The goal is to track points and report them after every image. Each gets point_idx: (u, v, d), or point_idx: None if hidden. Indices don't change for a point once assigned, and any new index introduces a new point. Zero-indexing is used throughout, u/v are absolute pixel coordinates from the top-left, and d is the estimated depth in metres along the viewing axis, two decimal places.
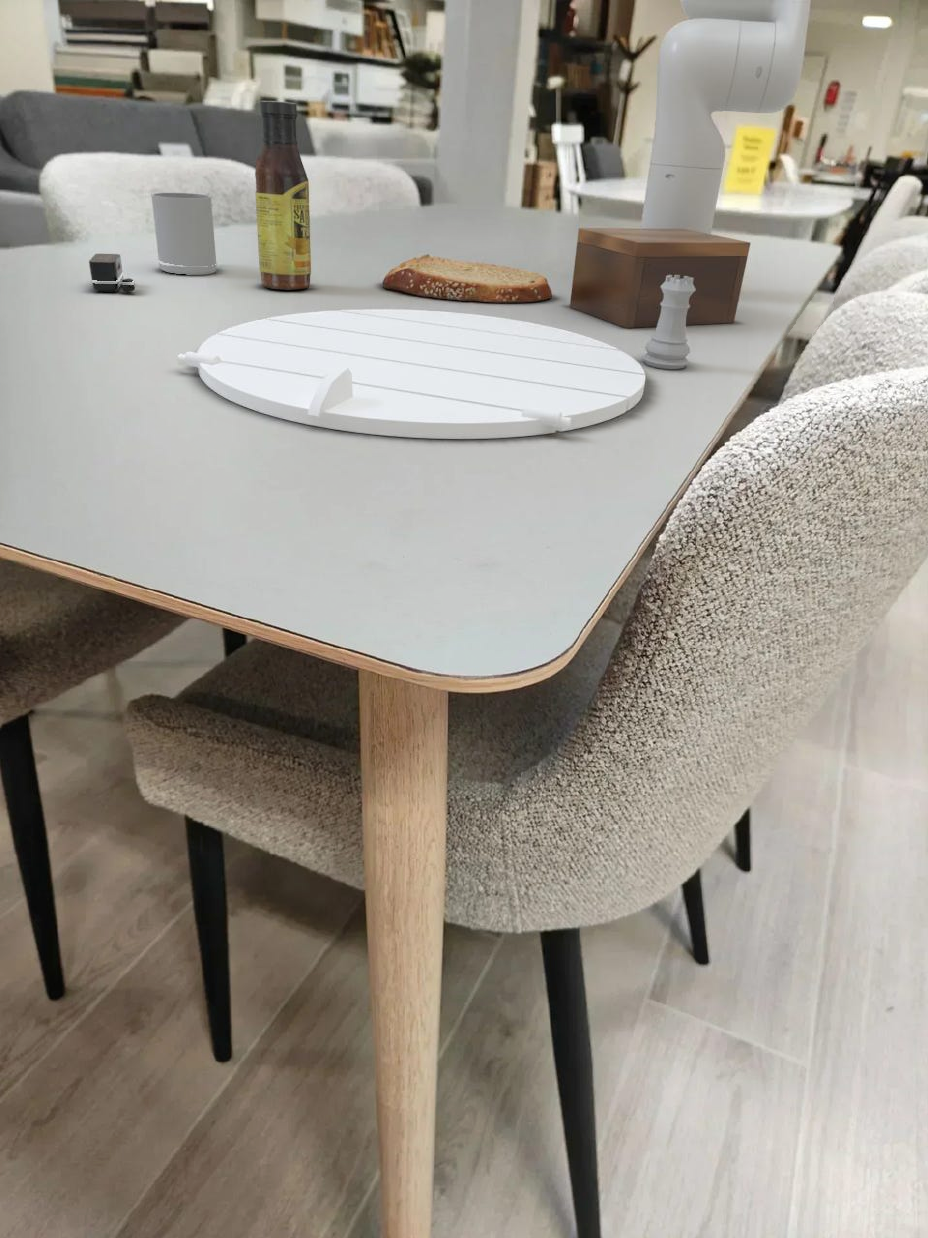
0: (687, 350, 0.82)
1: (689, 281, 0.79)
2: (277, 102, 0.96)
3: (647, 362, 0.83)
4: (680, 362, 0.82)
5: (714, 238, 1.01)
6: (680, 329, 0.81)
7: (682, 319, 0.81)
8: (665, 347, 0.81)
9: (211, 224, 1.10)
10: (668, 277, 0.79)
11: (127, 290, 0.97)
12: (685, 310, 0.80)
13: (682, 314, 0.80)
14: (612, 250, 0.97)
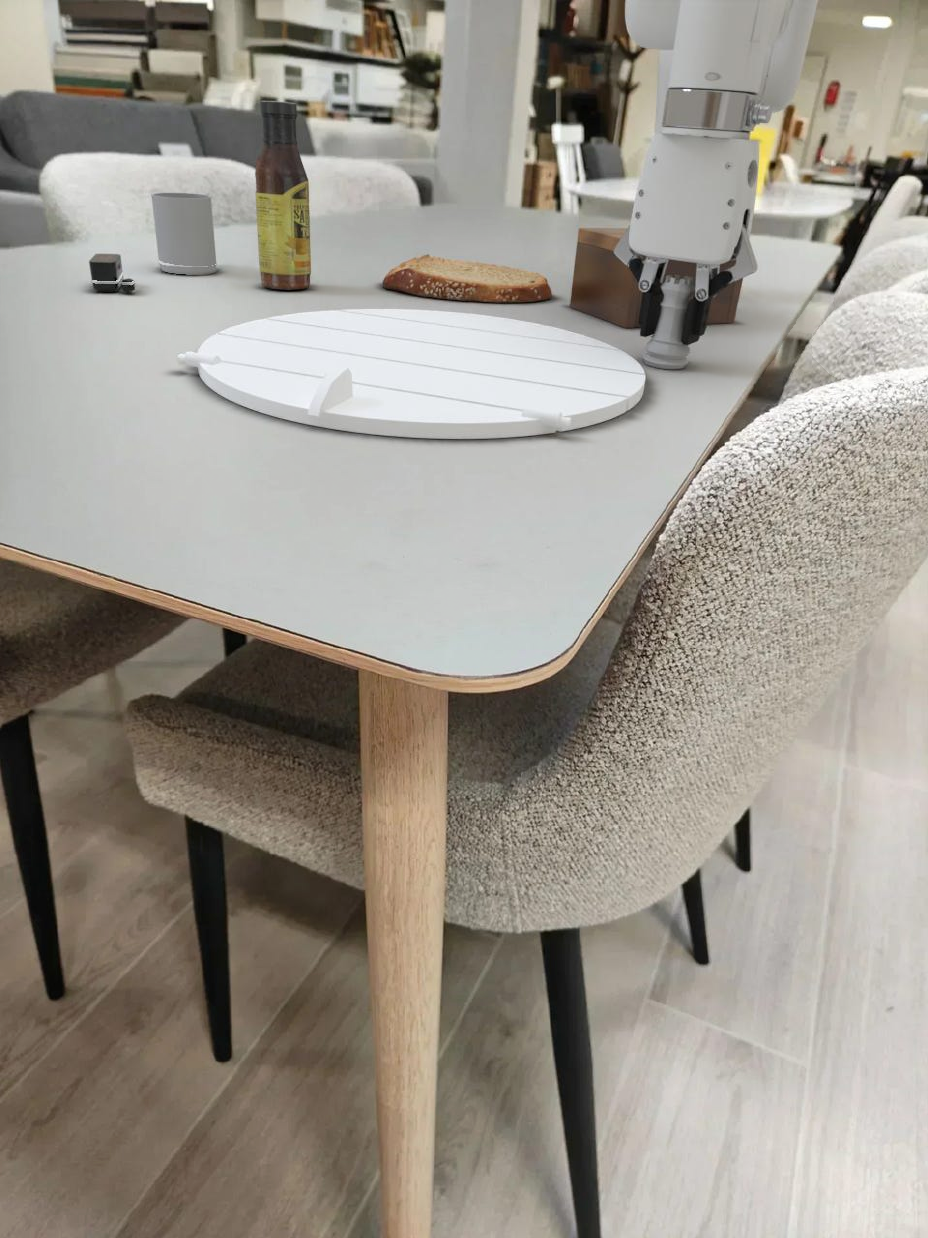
0: (687, 350, 0.82)
1: (689, 281, 0.79)
2: (277, 102, 0.96)
3: (647, 362, 0.83)
4: (680, 362, 0.82)
5: None
6: (680, 329, 0.81)
7: (682, 319, 0.81)
8: (665, 347, 0.81)
9: (211, 224, 1.10)
10: (668, 277, 0.79)
11: (127, 290, 0.97)
12: (685, 310, 0.80)
13: (682, 314, 0.80)
14: (612, 250, 0.97)
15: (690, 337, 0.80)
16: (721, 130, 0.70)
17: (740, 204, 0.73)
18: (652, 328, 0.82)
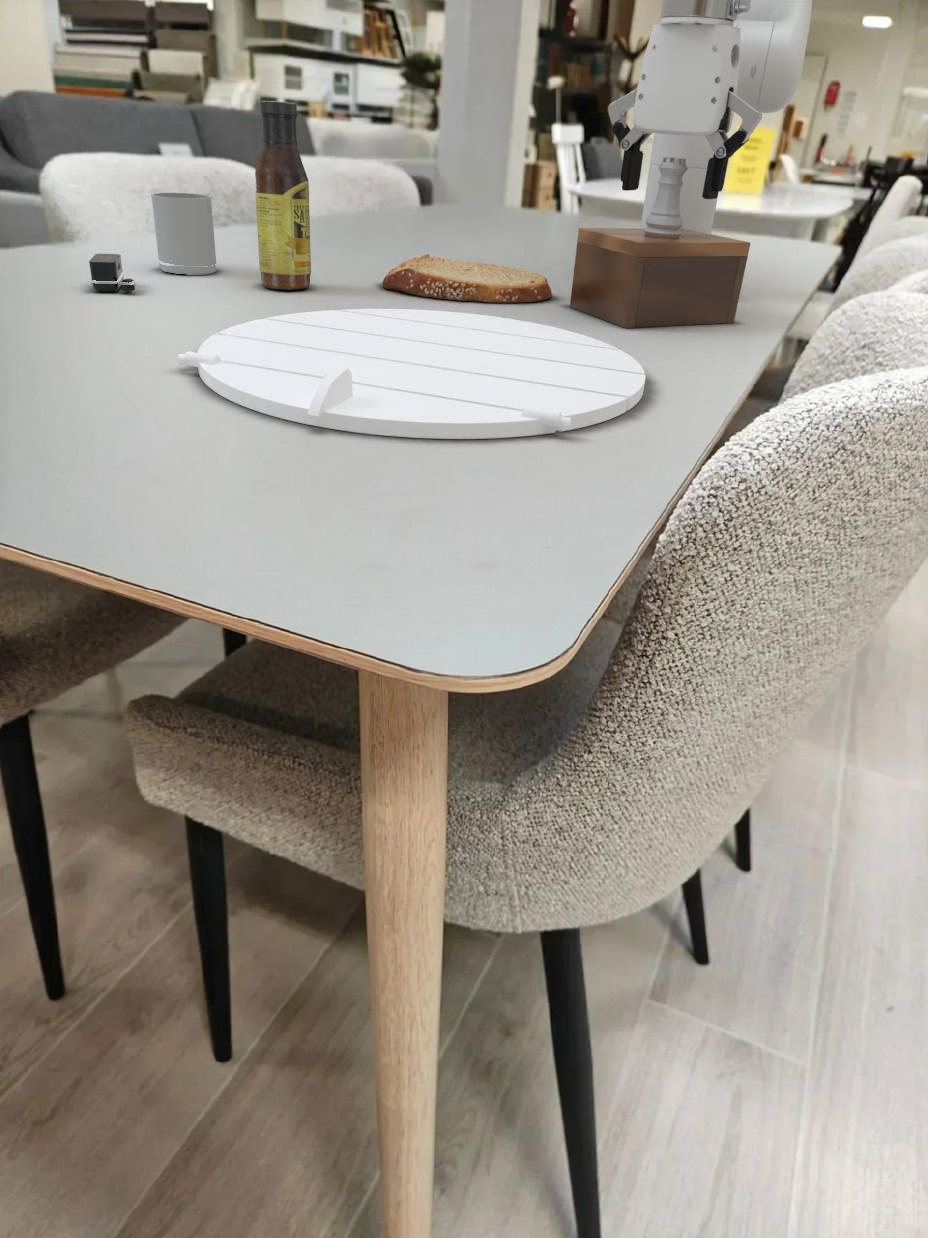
0: (681, 222, 0.98)
1: (682, 160, 0.95)
2: (277, 102, 0.96)
3: (647, 233, 0.99)
4: (675, 232, 0.98)
5: (714, 238, 1.01)
6: (674, 203, 0.97)
7: (676, 194, 0.96)
8: (662, 218, 0.97)
9: (211, 224, 1.10)
10: (665, 158, 0.95)
11: (127, 290, 0.97)
12: (679, 186, 0.96)
13: (676, 189, 0.96)
14: (612, 250, 0.97)
15: (710, 192, 0.94)
16: (709, 17, 0.86)
17: (725, 81, 0.88)
18: (632, 183, 0.99)
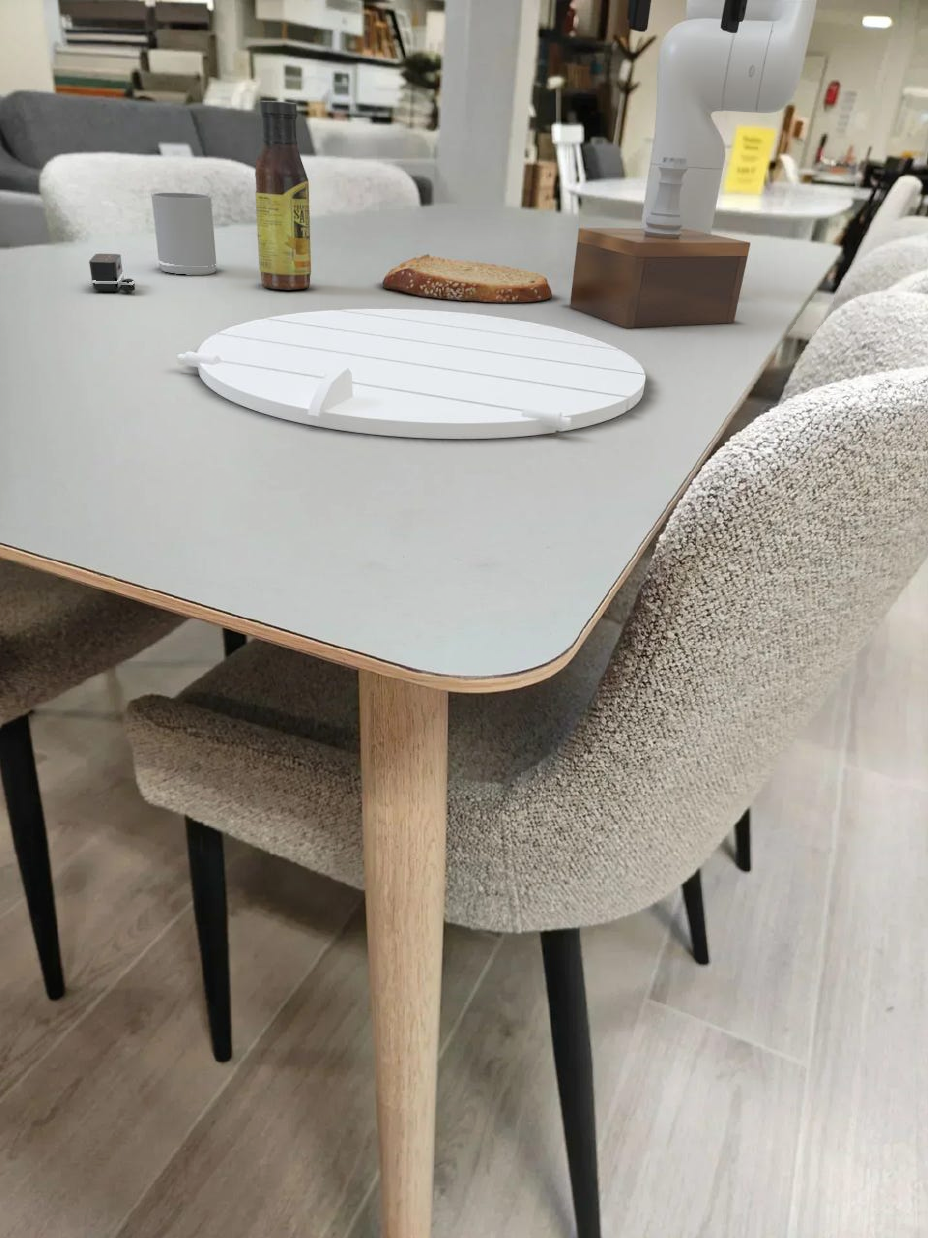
0: (681, 222, 0.98)
1: (682, 160, 0.95)
2: (277, 102, 0.96)
3: (647, 233, 0.99)
4: (675, 232, 0.98)
5: (714, 238, 1.01)
6: (674, 203, 0.97)
7: (676, 194, 0.96)
8: (662, 218, 0.97)
9: (211, 224, 1.10)
10: (665, 158, 0.95)
11: (127, 290, 0.97)
12: (679, 186, 0.96)
13: (676, 189, 0.96)
14: (612, 250, 0.97)
15: (730, 22, 0.82)
16: None
17: None
18: (640, 21, 0.87)
